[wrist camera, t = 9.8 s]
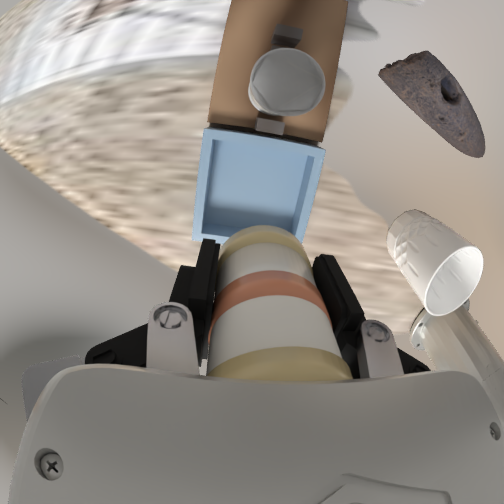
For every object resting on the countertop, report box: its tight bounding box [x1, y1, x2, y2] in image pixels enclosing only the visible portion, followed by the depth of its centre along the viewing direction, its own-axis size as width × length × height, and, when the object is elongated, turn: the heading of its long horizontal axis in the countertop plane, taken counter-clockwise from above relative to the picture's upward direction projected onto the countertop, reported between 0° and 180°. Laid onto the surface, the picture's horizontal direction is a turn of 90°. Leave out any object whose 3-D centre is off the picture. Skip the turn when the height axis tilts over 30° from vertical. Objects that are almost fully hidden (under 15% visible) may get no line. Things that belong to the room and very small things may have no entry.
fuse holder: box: [207, 0, 348, 142], centre depth 17 cm, size 10×15×4 cm, turn 170°
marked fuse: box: [206, 225, 353, 381], centre depth 9 cm, size 4×4×8 cm
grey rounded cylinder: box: [248, 48, 325, 116], centre depth 16 cm, size 4×4×8 cm
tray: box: [192, 127, 326, 244], centre depth 24 cm, size 10×10×3 cm
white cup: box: [386, 209, 484, 316], centre depth 24 cm, size 8×8×10 cm
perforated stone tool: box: [378, 51, 485, 158], centre depth 18 cm, size 15×5×7 cm, turn 59°
